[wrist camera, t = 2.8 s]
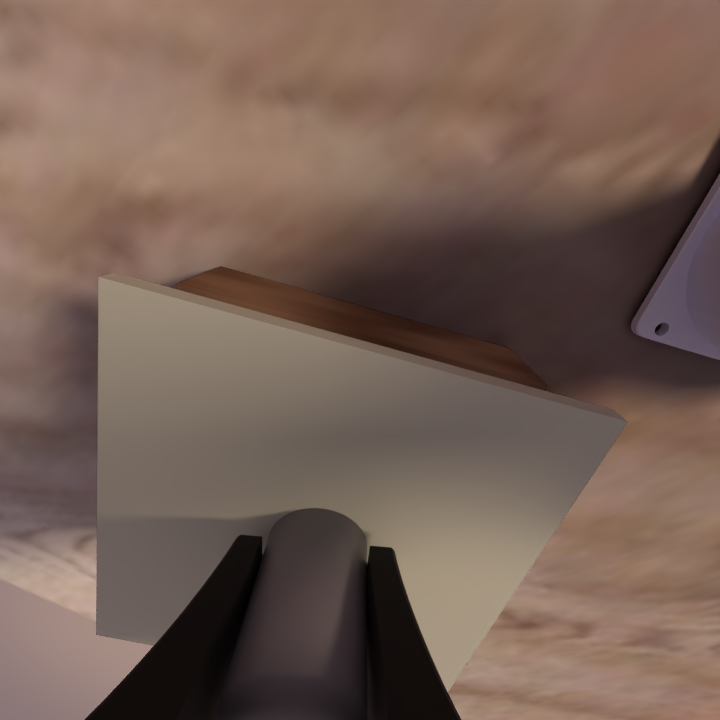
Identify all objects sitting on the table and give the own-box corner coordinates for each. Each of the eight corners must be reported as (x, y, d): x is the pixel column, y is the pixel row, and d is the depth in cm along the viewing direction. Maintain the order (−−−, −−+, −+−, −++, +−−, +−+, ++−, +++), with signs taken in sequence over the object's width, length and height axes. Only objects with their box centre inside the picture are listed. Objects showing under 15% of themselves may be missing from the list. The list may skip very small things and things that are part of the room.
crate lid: (613, 409, 10) (804, 565, 5) (439, 681, 14) (469, 875, 10) (116, 272, 9) (-135, 334, 4) (107, 616, 13) (-15, 807, 9)
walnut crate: (509, 348, 15) (548, 385, 12) (413, 548, 19) (423, 616, 16) (221, 266, 14) (177, 283, 11) (190, 498, 18) (152, 559, 15)
